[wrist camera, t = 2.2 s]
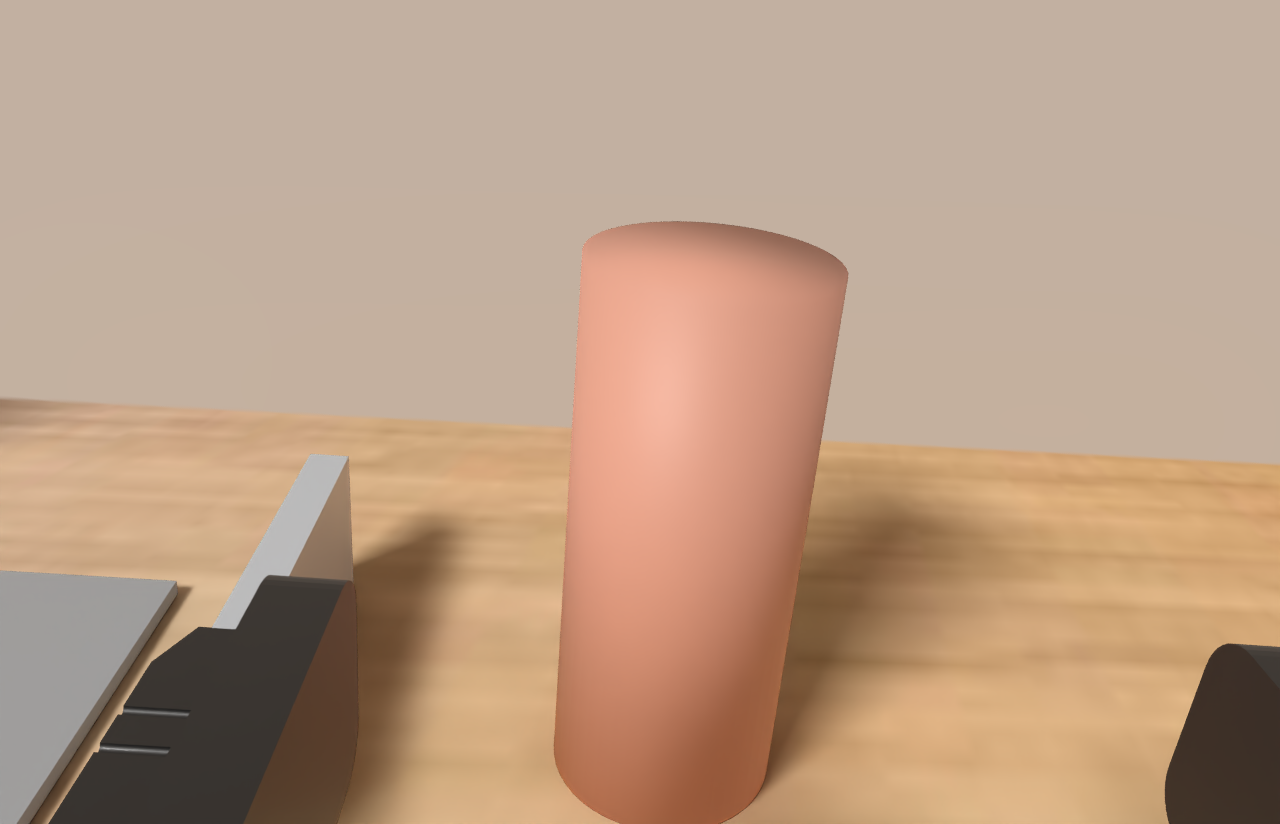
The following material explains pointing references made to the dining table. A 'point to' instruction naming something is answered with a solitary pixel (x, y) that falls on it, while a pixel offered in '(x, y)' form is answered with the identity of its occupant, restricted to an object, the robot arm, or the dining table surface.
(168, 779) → the robot arm
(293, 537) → the acrylic wall
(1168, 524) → the dining table surface
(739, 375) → the salmon pink cylinder
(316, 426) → the dining table surface
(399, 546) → the dining table surface
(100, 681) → the resting mat
